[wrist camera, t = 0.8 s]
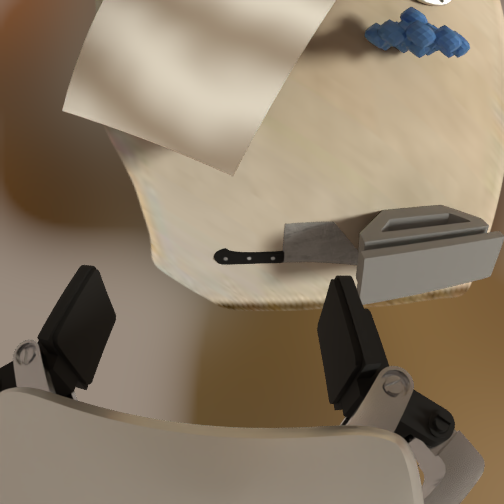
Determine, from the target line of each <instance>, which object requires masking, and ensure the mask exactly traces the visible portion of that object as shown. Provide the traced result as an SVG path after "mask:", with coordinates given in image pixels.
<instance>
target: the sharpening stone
mask: <svg viewBox="0 0 504 504" xmlns="http://www.w3.org/2000/svg"><path fill="white" fill-rule="evenodd" d="M488 227H489V225H488V224H487V223H486V222H485V221H484V220H482V219H481V218H478V217H476V216H473V215H470V214H467V213H464V212H461V211H458V210H455V209H452V208H449V207H446V206H443V205H434V206H422V207H411V208H400V209H389V210H382V211H381V212H380V213H379V214H378V215H377V216H376V217H375V218H374V219H373V220H372V221H371V222H370V223H369V224H368V225H367V226H366V227H365V228H364V229H363V230H362V231H361V232H360V235H359V250H358V262H357V273H356V279H357V282H358V284H357V291H358V294H359V297H360V299H361V302H362V305H364V304H369V303H375V302H381V301H386V300H391V299H396V298H402V297H407V296H411V295H416V294H421V293H426V292H430V291H435V290H439V289H443V288H448V287H452V286H456V285H460V284H464V283H468V282H472V281H475V280H479V279H483V278H487V277H490V276H491V273H492V271H493V268H494V265H495V263H496V260H497V257H498V255H499V252H500V249H501V246H502V243H503V240H504V235H503V234H502V233H501V232H500V231H496V232H490V233H487V230H488Z"/></svg>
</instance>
